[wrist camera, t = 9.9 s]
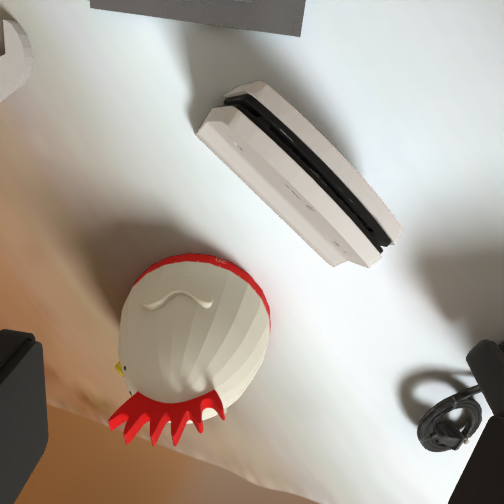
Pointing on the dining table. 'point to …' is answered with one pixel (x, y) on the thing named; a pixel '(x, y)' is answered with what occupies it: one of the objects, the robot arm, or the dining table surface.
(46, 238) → the dining table surface
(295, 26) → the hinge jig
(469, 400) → the milk frother
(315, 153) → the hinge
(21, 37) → the adjustable wrench
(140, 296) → the kitchen timer
